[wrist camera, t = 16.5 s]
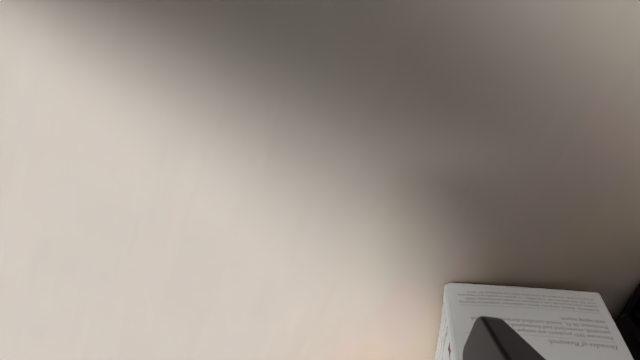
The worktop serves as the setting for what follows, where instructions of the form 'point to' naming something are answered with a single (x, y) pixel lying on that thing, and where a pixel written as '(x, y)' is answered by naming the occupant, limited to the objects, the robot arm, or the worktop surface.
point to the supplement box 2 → (533, 321)
